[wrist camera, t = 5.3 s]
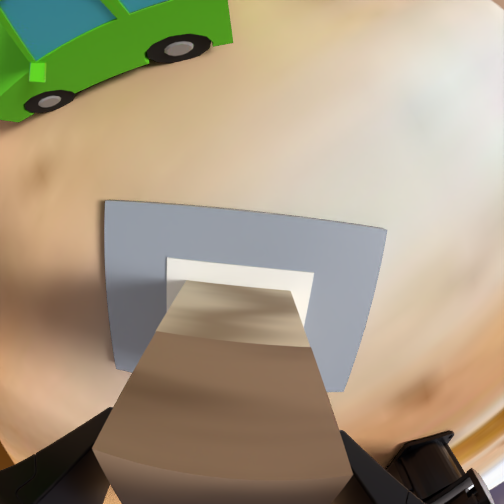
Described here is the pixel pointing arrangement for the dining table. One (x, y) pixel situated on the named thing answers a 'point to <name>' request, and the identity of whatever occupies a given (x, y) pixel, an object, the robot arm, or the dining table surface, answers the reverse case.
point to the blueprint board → (240, 272)
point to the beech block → (235, 314)
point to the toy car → (94, 44)
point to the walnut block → (223, 427)
